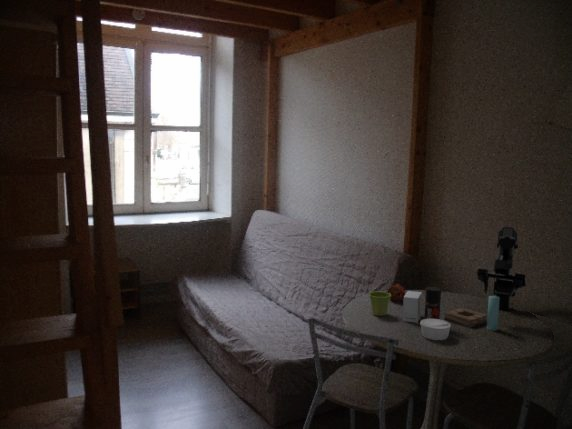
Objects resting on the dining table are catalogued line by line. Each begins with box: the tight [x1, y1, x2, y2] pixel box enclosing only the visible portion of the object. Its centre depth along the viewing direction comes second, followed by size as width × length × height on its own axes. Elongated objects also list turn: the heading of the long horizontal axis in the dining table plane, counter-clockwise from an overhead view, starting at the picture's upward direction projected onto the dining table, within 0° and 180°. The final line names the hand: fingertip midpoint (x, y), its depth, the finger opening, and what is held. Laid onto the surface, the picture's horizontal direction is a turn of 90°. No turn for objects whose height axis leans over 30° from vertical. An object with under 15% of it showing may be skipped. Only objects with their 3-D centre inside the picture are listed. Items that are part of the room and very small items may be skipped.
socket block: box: [444, 307, 488, 328], centre depth 217 cm, size 12×12×3 cm
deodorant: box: [423, 286, 442, 320], centre depth 211 cm, size 6×6×15 cm
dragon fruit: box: [385, 283, 406, 303], centre depth 246 cm, size 8×8×12 cm
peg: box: [486, 295, 500, 332], centre depth 207 cm, size 4×4×13 cm
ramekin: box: [419, 319, 451, 341], centre depth 198 cm, size 11×11×5 cm
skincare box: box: [402, 290, 423, 324], centre depth 219 cm, size 10×6×10 cm, turn 157°
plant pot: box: [368, 291, 391, 317], centre depth 224 cm, size 9×9×9 cm
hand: (497, 294), depth 212 cm, fingers open, 9 cm apart
